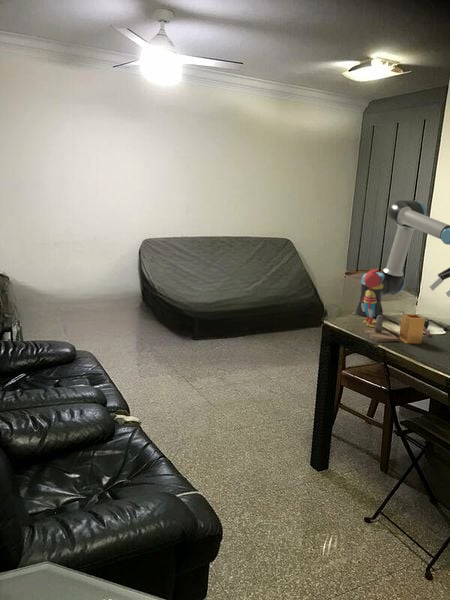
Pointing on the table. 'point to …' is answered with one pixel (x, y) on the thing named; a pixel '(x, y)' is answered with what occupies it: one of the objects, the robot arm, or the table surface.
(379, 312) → the robot arm
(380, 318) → the post
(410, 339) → the frame
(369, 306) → the toy
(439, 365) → the table surface
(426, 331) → the pink handled mallet
